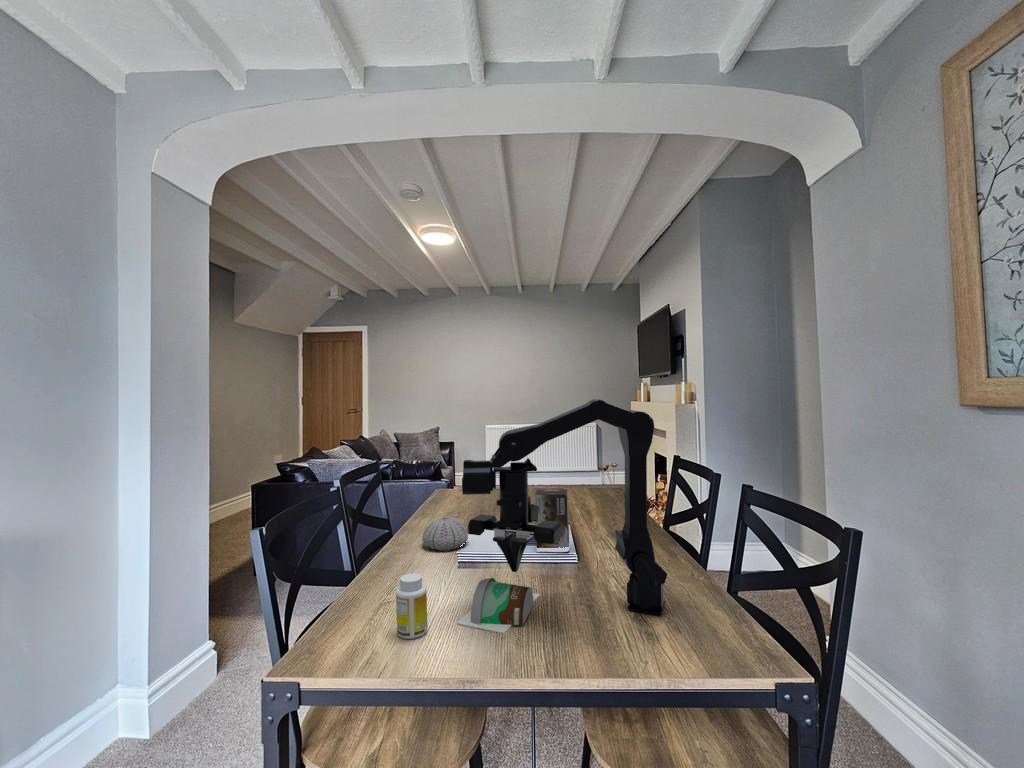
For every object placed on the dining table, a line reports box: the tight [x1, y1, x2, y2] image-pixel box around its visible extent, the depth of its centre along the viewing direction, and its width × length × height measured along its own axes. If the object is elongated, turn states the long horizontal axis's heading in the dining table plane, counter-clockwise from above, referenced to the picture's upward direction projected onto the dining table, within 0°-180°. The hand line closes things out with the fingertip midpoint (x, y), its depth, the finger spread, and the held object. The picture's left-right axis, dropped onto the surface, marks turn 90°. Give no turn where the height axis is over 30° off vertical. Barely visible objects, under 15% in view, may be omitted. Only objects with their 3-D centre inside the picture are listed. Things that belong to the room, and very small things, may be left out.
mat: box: [456, 592, 541, 635], centre depth 100 cm, size 10×18×1 cm, turn 155°
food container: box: [470, 577, 534, 626], centre depth 98 cm, size 12×6×10 cm
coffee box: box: [534, 488, 570, 548], centre depth 137 cm, size 9×6×16 cm
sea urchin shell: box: [421, 516, 469, 552], centre depth 142 cm, size 13×14×8 cm
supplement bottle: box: [395, 573, 428, 640], centre depth 91 cm, size 6×6×10 cm
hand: (514, 571), depth 99 cm, fingers closed
